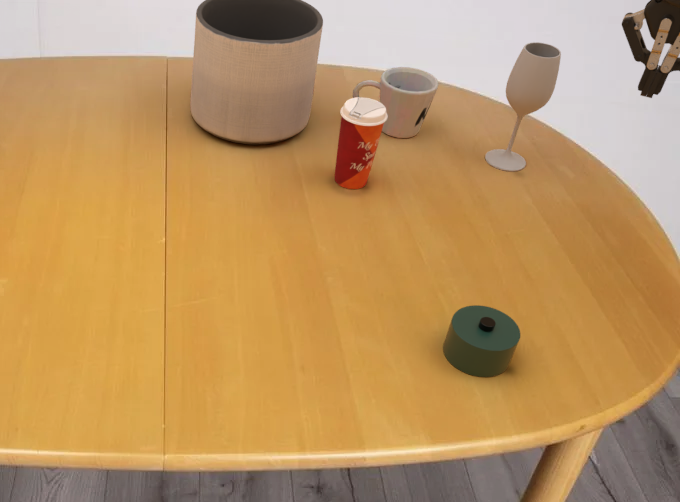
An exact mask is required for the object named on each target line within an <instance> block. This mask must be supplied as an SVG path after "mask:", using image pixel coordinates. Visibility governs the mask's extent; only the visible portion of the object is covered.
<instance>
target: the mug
mask: <svg viewBox="0 0 680 502" xmlns="http://www.w3.org/2000/svg"><path fill="white" fill-rule="evenodd" d="M379 81H380V82H379ZM379 81H376V80H374V79H367V80H362V81H360V82H359V83H357V84H356V86H355V87H354V89H353V90H352V98H356V97H360V91H361V90H362V89H363V88H364V87H373V88H376V89H377V90H379V102H380V103H382V104H383V105H384V106H385V108H386V113H387V120H386V121H385V122H384V125H383V128H382V132H381V133H384V134H386V135H388V136H390V137H393V138H398V139H409V138H412V137H415V136H417V135H418V134H419V132H420V130H421V127H422V126H423V123H424V122H425V119H426V116H427V115H428V112H429V110H430V107H431V104H432V102H433V100H434V98H435V96H436V93H437V91H438V88H439V83H440V82H439V81H438V79H437V78H436V76H435V75H433V74H431V73H429V72H428V71H425V70H423V69H420V68H415V67H409V66H398V67H397V66H396V67H390V68H388V69H386V70H385V71H383V72H382V73H381V75H380V80H379Z"/></svg>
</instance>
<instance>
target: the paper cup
mask: <svg viewBox="0 0 680 502" xmlns="http://www.w3.org/2000/svg"><path fill="white" fill-rule="evenodd" d="M379 101H380V100H379ZM379 101H378V100H377V99H374V98H370V97H362V96H359V97H356V98H353V97H352V98H349V99H347V100H346V101H345V102H344V103H343V106H341V108H340V110H339V114H340V116H341V118H340V125H339V133H338V143H337V150H336V159H335V168H334V181H335V184H337V185H338V186H339V187H342V188H344V189H348V190H358V189H363V188H364V187H365V186H366V185H367V183H368V180H369V176H370V173H371V170H372V166H373V164H374V159H375V156H376V153H377V149H378V146H379V142H380V139H381V136H382V133H383V132H382V128H383V125H384V122H385V121H386V120H387V113H386V108H385V106H384V105H383V104H382V103H380V102H379Z"/></svg>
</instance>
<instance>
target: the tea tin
mask: <svg viewBox="0 0 680 502" xmlns="http://www.w3.org/2000/svg"><path fill="white" fill-rule="evenodd" d="M520 340H521V330H520V327H519V325H518V324H517V323H516V321H515V320H514V318H512V317H511V316H509V315H508V314H507V313H505V312H503V311H501V310H499V309H497V308H494V307H491V306H487V305H479V304H478V305H475V304H474V305H473V304H472V305H467V306H463V307H461V308H459V309H457V310H456V311H455V312H454V314H453V315H452V318H451V320H450V323H449V326H448V330H447V333H446V335H445V338H444V341H443V343H442V344H443V345H442V352H443V355H444V357H445V359H446V360H447V361H448V363H449V364H451V365H452V366H453V367H454V368H456V369H457V370H458V371H460V372H462V373H464V374H467V375H470V376H473V377H478V378H493V377H496V376H497V377H498V376H499V375H502V374H503V373H504V372H506V371H507V369H508V368H509V366H510V363H511V361H512V359H513V357H514V354H515V352H516V349H517V347H518V345H519V342H520Z"/></svg>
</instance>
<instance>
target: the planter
mask: <svg viewBox="0 0 680 502" xmlns="http://www.w3.org/2000/svg"><path fill="white" fill-rule="evenodd" d="M194 26H195V28H194V42H193V44H194V45H193V58H192V72H191V85H190V87H191V88H190V99H189V100H190V104H189V105H190V114H191V117H192V119H193V120H194V122H195V123H196V124H197V125H198V126H199V127H200V128H201V129H202V130H204V131H206V132H207V133H208V134H211V135H213V136H214V137H217V138H219V139H221V140H224V141H228V142H232V143H236V144H242V145H270V144H274V143H278V142H283V141H287V140H288V139H291V138H293V137H295V136H296V135H298V134H300V133H301V132H303V130H305V128H306V127H307V126H308V123H309V121H310V117H311V112H312V106H313V99H314V92H315V82H316V76H317V68H318V61H319V54H320V53H319V52H320V47H321V40H322V35H323V34H322V33H323V27H324V18H323V16H322V14H321V13H320V11H319V10H318V9H317V8H316V7H314V6H313V5H311V4H309V3H308V2H306V1H304V0H204V1H202V2H201V3H200V4H198V7H197V8H196V12H195V25H194Z"/></svg>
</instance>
